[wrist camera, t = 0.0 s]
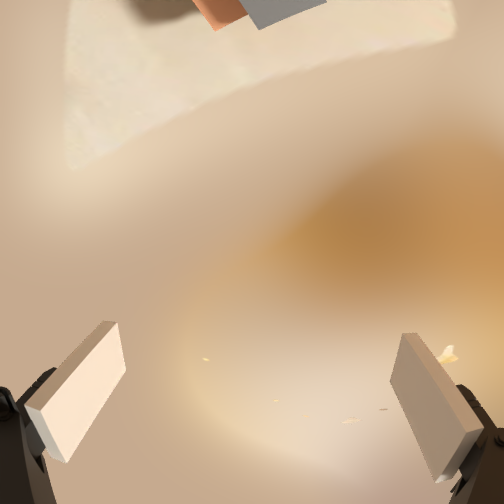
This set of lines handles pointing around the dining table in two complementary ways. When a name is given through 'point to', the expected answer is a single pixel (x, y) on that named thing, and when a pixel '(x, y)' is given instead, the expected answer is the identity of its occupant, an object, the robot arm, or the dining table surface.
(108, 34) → the dining table surface
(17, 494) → the robot arm
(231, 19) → the terracotta button
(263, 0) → the console
